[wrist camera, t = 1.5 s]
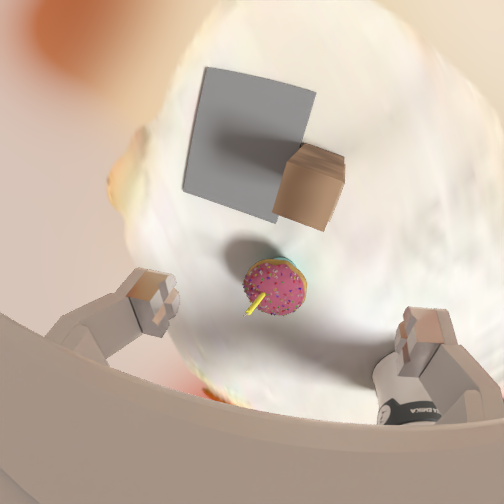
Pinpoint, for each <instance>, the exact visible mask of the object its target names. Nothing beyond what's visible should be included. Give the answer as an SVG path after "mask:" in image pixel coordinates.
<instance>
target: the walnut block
mask: <svg viewBox="0 0 504 504" xmlns="http://www.w3.org/2000/svg"><path fill="white" fill-rule="evenodd" d="M344 184H345V164H344V157H343V156H340V155H338V154H335V153H332V152H329V151H327V150H324V149H321V148H318V147H315V146H313V145H310V144H307V143H305V144H304V145H303V146H302V147H301V148H300V149H299V150H298V151H297V152H296V153H295V154H294V155H293V156H292V157H291V158H290V159H289V160H288V161H287V163H286V167H285V170H284V173H283V177H282V180H281V183H280V187H279V190H278V193H277V197H276V200H275V203H274V207H273V210H272V213H274V214H277V215H280V216H282V217H285V218H288V219H291V220H293V221H296V222H299V223H301V224H304V225H307V226H309V227H312V228H315V229H317V230H320V231H323V232H324V230H325V227H326V225H327V222H330V220H331V218H332V215H333V213H334V210H335V207H336V205H337V202H338V200H339V197H340V195H341V192H342V189H343V187H344Z"/></svg>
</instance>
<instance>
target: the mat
mask: <svg viewBox="0 0 504 504" xmlns="http://www.w3.org/2000/svg"><path fill="white" fill-rule="evenodd" d="M315 96H316V92H313V91H309V90H306V89H303V88H299V87H296V86H292V85H289V84H285V83H281V82H277V81H273V80H269V79H265V78H261V77H256V76H252V75H247V74H242V73H237V72H232V71H227V70H221V69H216V68H209V67H207V71H206V75H205V79H204V84H203V88H202V93H201V97H200V102H199V107H198V112H197V116H196V121H195V126H194V132H193V137H192V142H191V148H190V153H189V159H188V165H187V171H186V177H185V183H184V190H183V192H186V193H189V194H192V195H195V196H198V197H201V198H204V199H207V200H210V201H213V202H215V203H218V204H221V205H224V206H227V207H230V208H233V209H235V210H238V211H241V212H244V213H247V214H249V215H252V216H255V217H258V218H260V219H263V220H266V221H269V222H271V223H274V224H276V222H277V219H278V216H279V215H277V214H274V213H272V210H273V207H274V203H275V200H276V197H277V193H278V190H279V187H280V183H281V180H282V177H283V173H284V170H285V167H286V163H287V161H288V160H289V159H290V158H291V157H292V156H293V155H294V154H295V153H296V152H297V151H298V150H299V148H300V145H301V142H302V139H303V135H304V132H305V129H306V125H307V122H308V119H309V116H310V112H311V109H312V106H313V102H314V99H315Z"/></svg>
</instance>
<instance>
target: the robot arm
mask: <svg viewBox="0 0 504 504" xmlns="http://www.w3.org/2000/svg"><path fill="white" fill-rule="evenodd" d="M175 285H176V279H175V276H174V275H173V274H169V273H164V272H159V271H154V270H150V269H149V270H148V269H143V268H136V269H134V271H133V272H132V273H131V274H130V275H129V276H128V278H127V279H126V280H125V281H124V282H123V283H122V285H121V286H120V287H119V288H118V289H117V291H116V292H115V293H110V294H107V295H105V296H103V297H101V298H99V299H97V300H95V301H93V302H90V303H88V304H86V305H84V306H82V307H80V308H78V309H76V310H74V311H71V312H69V313H67V314H65V315H63V316H62V317H61V318H60V319H59V320H58V321H57V323H56V324H55V325H54V326H53V327H52V328H51V330H50V331H49V332H48V333H47V335H46V336H45V337H43V336H41V335H39V334H37V333H35V332H33V331H32V330H30V329H28V328H26V327H24V326H23V325H21V324H19V323H17V322H16V321H14V320H12V319H10V318H9V317H7V316H5V315H4V314H2V313H0V504H504V403H503V398H502V394H501V390H500V387H499V386H498V385H497V383H496V382H495V381H494V380H493V379H492V378H491V377H490V375H489V374H488V373H487V372H486V371H485V370H484V369H483V368H482V367H481V365H480V364H479V363H478V362H477V361H476V360H475V359H474V358H473V357H472V356H471V355H470V354H469V352H468V351H467V350H466V349H465V348H464V347H463V346H462V345H458V343H457V339H456V336H455V332H454V329H453V325H452V322H451V319H450V315H449V312H448V311H447V310H446V309H435V308H434V309H432V308H420V307H409V306H408V307H407V308H406V309H405V312H404V314H403V317H404V321H403V322H401V323H400V324H399V326H398V328H397V331H396V336H395V352H393V353H391V354H389V355H387V356H386V357H385V358H383V359H382V360H381V361H380V362H379V363H378V364H377V365H376V367H375V369H374V371H373V375H372V378H373V382H374V385H375V388H376V392H377V397H378V404H379V412H378V418H377V425H372V424H355V423H342V422H332V421H322V420H314V419H306V418H299V417H292V416H286V415H280V414H274V413H269V412H263V411H258V410H253V409H248V408H243V407H239V406H234V405H230V404H226V403H222V402H217V401H213V400H210V399H206V398H202V397H198V396H195V395H191V394H187V393H184V392H180V391H177V390H174V389H171V388H168V387H164V386H161V385H158V384H155V383H152V382H149V381H146V380H143V379H140V378H138V377H135V376H132V375H129V374H127V373H124V372H121V371H119V370H116V369H114V368H111V367H110V365H109V364H108V362H107V361H106V359H107V358H108V357H110V356H111V355H113V354H114V353H116V352H117V351H118V350H120V349H122V348H123V347H124V346H126V345H127V344H129V343H130V342H132V341H133V340H135V339H136V338H138V337H139V336H141V335H142V333H144V334H148V335H152V336H156V337H160V338H162V337H163V335H164V333H165V332H166V330H167V329H168V327H169V321H168V320H169V319H171V318H173V317H175V315H176V313H177V311H178V308H179V304H180V296H179V292H178V291H177V290H176V289H175V288H174V286H175Z"/></svg>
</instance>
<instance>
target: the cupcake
mask: <svg viewBox="0 0 504 504" xmlns="http://www.w3.org/2000/svg"><path fill="white" fill-rule="evenodd" d="M243 285H244V286H243V288H244V289H245V290H244V292H246V294H247V297H248V298H249V299H250V302H252V304H251V306H250V307H249V308H248V309H247V311H246V314H245V315H244V316H243V317H245V316H246V315H250V314H251V313H252V312H253V311H254V309H255V308H258V310H259V309H260V310H261V311H262V312H266V313H269V314H271V315H272V314H274V315H283V316H284V315H287V314H289V313H291V312H294V311H295V310H296V309H298V308H299V307H300V306H301V305H302V303H303V302H304V300H305V297H306V288H307V282H306V279H305V277H304V276H303V274H302V273H301V272H300V271H299V270H298V269H297V268H296V266H295V265H294V263H293V262H292V261H290V260H289V259H286V258H282V257H277V258H273V259H266V260H261V261H259V262H257V263H256V264H254V265H253V266H252V267H251V268H250V269H249V271H248V273H247V275H246V277H245V279H244V284H243Z"/></svg>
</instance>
